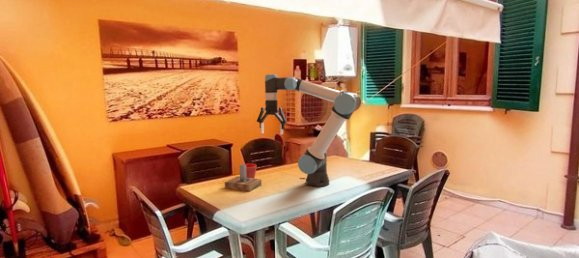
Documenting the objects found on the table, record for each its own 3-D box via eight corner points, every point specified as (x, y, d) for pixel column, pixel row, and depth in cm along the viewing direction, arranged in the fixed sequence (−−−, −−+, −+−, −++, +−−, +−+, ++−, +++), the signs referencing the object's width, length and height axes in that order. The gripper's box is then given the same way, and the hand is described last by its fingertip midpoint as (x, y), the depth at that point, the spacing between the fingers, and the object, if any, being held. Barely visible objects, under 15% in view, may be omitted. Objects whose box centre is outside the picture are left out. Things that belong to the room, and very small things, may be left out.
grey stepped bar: (248, 186, 217) (248, 164, 215) (244, 188, 212) (244, 166, 211) (242, 185, 219) (241, 163, 217) (237, 187, 214) (237, 165, 213)
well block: (261, 185, 218) (261, 179, 218) (249, 191, 206) (249, 185, 205) (237, 182, 226) (237, 176, 225) (224, 188, 213) (224, 181, 213)
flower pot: (254, 181, 226) (253, 167, 225) (238, 181, 229) (237, 166, 227) (258, 177, 237) (258, 163, 235) (243, 176, 239) (243, 163, 238)
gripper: (292, 99, 210) (292, 134, 213) (256, 99, 221) (257, 132, 224) (286, 100, 204) (287, 135, 206) (250, 99, 214) (251, 133, 217)
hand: (271, 133), depth 215 cm, fingers open, 13 cm apart
